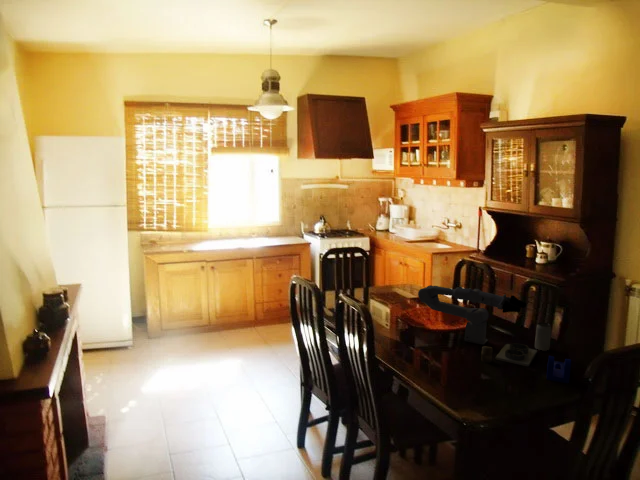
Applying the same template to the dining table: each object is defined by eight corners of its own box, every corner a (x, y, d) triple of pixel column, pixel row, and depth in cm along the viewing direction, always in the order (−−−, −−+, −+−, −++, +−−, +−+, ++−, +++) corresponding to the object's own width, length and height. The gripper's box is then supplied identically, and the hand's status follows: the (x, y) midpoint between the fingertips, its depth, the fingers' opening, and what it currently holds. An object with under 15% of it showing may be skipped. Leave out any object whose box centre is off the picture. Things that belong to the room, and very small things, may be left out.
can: (550, 351, 247) (553, 327, 245) (535, 350, 248) (538, 326, 246) (547, 346, 253) (550, 322, 251) (533, 345, 255) (535, 321, 252)
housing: (495, 359, 237) (496, 352, 236) (506, 345, 253) (506, 339, 253) (528, 366, 230) (529, 360, 229) (537, 352, 246) (537, 346, 246)
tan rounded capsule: (479, 361, 234) (480, 348, 233) (482, 358, 238) (483, 345, 237) (489, 363, 232) (491, 350, 231) (492, 360, 236) (493, 347, 235)
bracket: (568, 384, 214) (571, 363, 212) (546, 380, 217) (548, 359, 216) (568, 367, 230) (570, 347, 229) (547, 364, 233) (549, 344, 232)
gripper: (489, 296, 244) (519, 303, 236) (500, 288, 256) (529, 295, 248) (487, 310, 246) (517, 318, 238) (498, 302, 257) (527, 309, 249)
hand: (523, 307), depth 243 cm, fingers open, 7 cm apart
